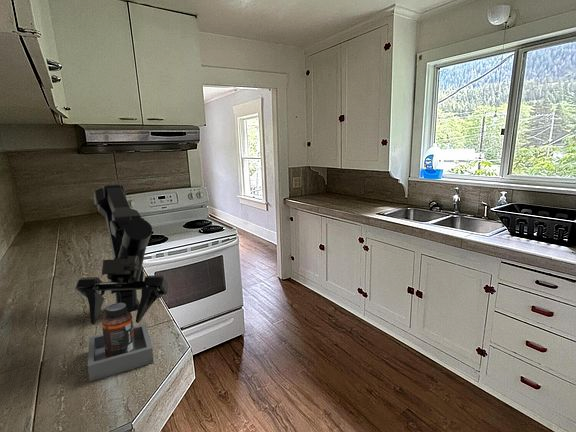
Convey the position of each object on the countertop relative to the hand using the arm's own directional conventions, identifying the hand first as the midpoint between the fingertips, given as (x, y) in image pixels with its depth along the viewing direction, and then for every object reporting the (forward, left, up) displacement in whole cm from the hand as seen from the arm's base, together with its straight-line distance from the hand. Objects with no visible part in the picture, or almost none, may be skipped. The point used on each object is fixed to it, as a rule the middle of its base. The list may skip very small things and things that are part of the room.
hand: (115, 323), depth 68 cm
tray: (-1, +1, -9) cm, 9 cm away
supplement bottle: (-1, 0, -8) cm, 8 cm away
